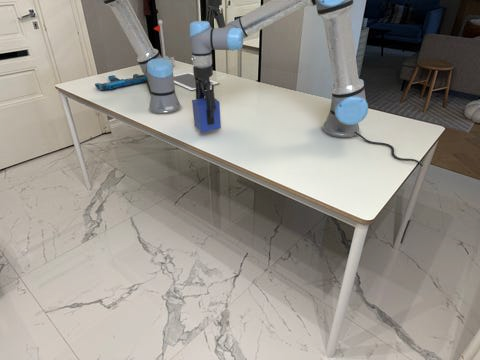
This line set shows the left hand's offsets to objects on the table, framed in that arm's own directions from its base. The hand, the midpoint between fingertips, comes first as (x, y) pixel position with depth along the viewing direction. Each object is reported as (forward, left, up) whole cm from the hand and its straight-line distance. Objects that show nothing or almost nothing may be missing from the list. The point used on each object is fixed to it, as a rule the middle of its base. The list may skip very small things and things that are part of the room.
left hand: (216, 41), depth 179 cm
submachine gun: (-50, -36, -27) cm, 67 cm away
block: (+44, -36, -24) cm, 61 cm away
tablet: (-27, -2, -27) cm, 38 cm away
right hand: (+44, -36, -20) cm, 60 cm away
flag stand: (-68, +2, -27) cm, 73 cm away
